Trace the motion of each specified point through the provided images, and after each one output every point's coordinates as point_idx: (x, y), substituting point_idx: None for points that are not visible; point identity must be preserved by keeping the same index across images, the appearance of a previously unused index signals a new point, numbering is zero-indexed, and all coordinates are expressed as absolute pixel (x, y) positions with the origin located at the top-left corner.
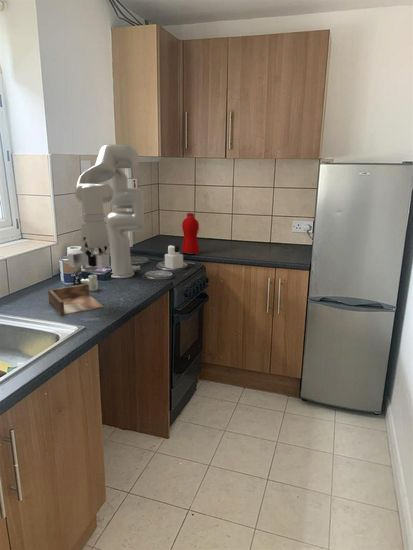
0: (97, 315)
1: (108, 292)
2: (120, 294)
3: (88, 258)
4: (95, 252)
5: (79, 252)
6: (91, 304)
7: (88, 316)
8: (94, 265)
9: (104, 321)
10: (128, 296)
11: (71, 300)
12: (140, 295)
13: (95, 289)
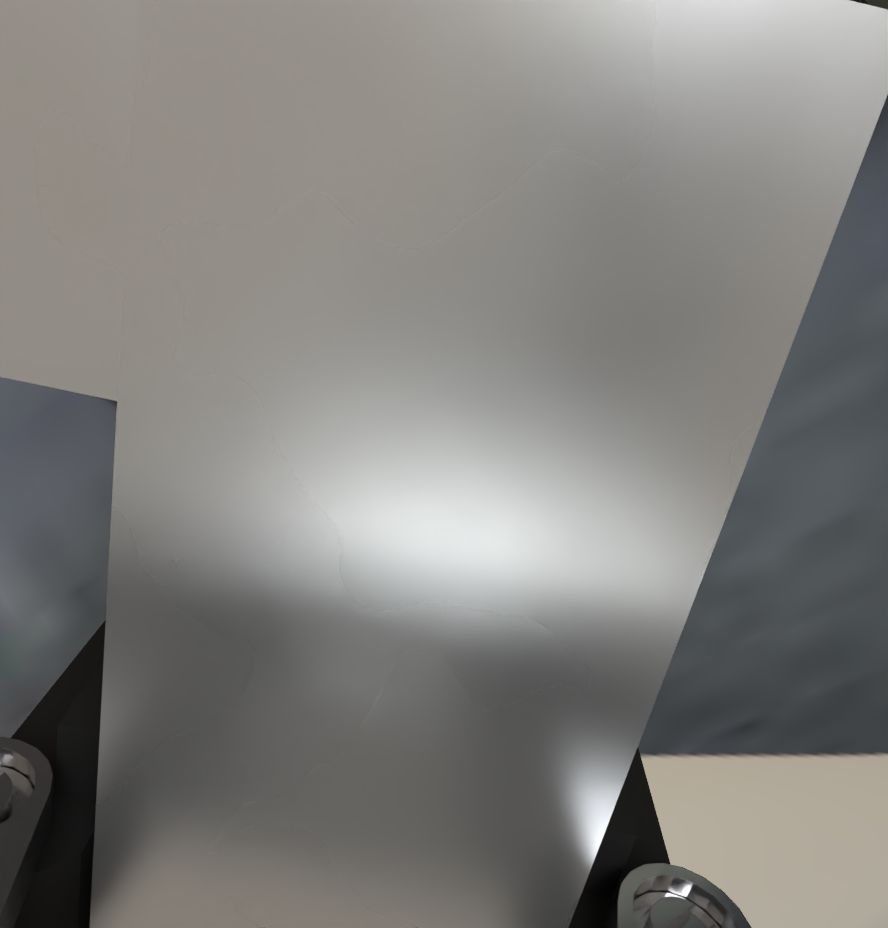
0: (100, 584)
1: (830, 259)
2: (783, 452)
3: (29, 727)
4: (444, 890)
5: (2, 150)
6: None
7: (33, 525)
8: None
9: (27, 706)
10: (733, 570)
11: None
12: (802, 665)
13: (884, 6)
